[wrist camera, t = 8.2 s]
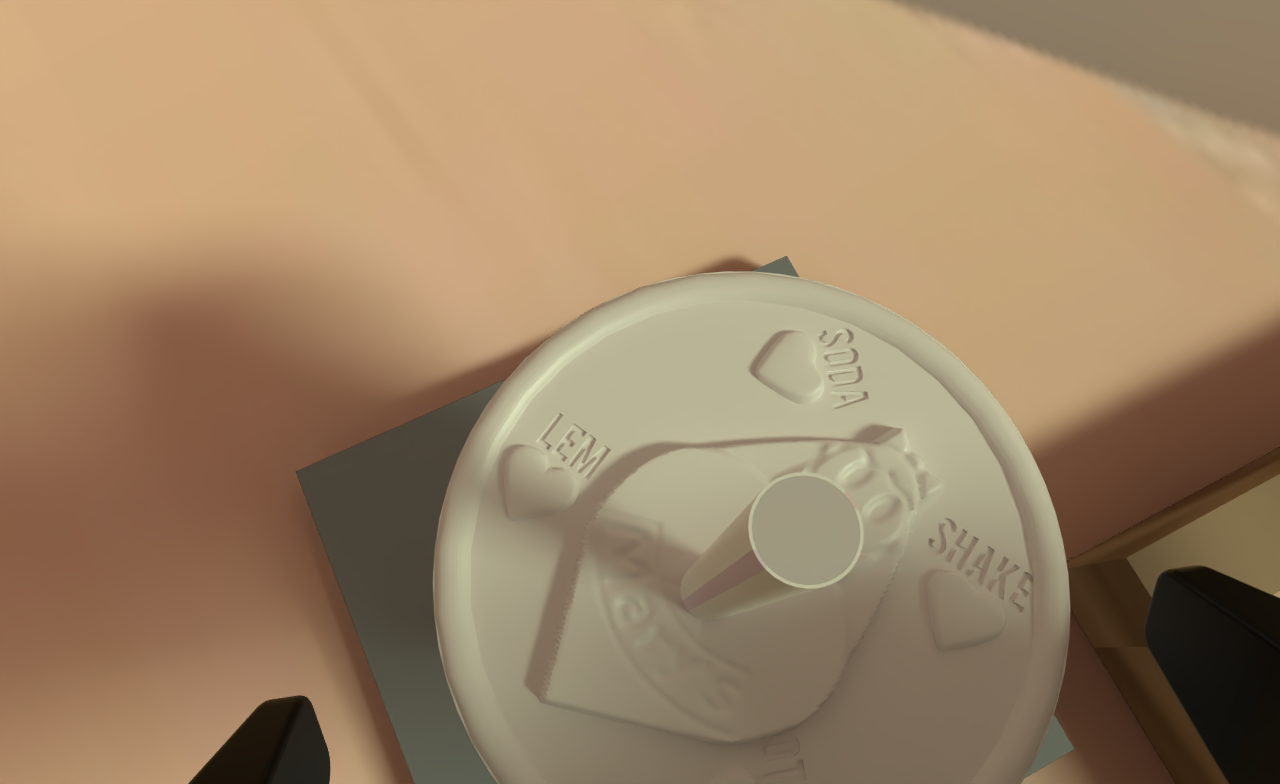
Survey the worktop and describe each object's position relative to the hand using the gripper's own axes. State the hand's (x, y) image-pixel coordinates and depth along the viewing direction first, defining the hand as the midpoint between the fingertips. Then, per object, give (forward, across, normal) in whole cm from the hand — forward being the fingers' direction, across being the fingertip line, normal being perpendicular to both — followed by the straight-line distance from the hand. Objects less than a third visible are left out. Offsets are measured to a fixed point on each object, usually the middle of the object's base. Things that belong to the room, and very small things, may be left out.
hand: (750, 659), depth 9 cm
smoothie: (+7, 0, +6) cm, 9 cm away
